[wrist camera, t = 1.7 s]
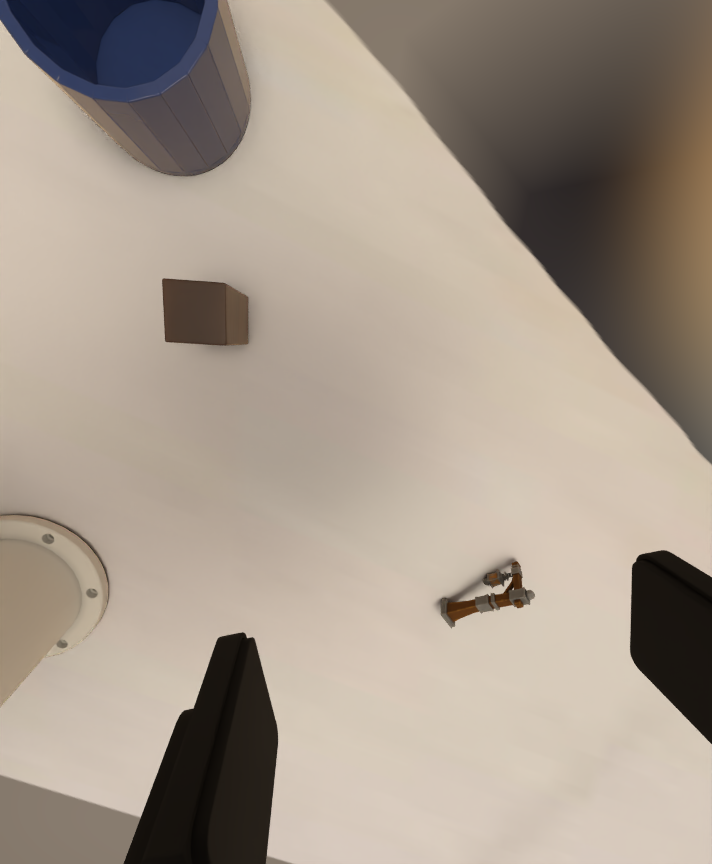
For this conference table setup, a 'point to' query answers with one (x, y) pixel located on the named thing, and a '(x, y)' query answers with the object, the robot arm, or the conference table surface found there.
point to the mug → (144, 73)
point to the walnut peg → (204, 313)
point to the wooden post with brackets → (490, 597)
